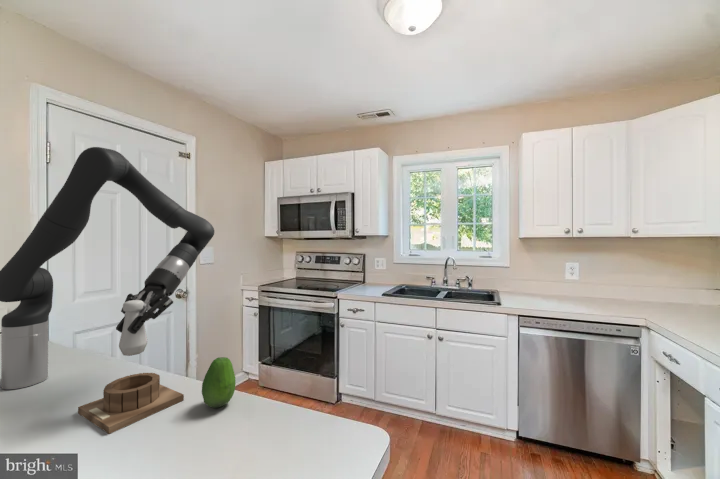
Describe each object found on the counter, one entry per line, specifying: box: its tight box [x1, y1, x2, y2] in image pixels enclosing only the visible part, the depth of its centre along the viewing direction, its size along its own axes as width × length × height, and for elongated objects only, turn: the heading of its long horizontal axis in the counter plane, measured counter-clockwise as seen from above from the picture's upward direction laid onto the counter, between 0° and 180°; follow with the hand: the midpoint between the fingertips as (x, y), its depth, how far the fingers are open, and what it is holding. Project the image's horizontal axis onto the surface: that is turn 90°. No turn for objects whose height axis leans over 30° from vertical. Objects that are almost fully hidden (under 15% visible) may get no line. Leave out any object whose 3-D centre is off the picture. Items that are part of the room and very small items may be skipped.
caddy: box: [77, 372, 185, 435], centre depth 76 cm, size 16×16×6 cm
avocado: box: [201, 356, 236, 409], centre depth 77 cm, size 8×8×12 cm
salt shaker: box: [118, 300, 148, 357], centre depth 77 cm, size 6×6×13 cm
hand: (125, 331), depth 75 cm, fingers closed on salt shaker, 3 cm apart
